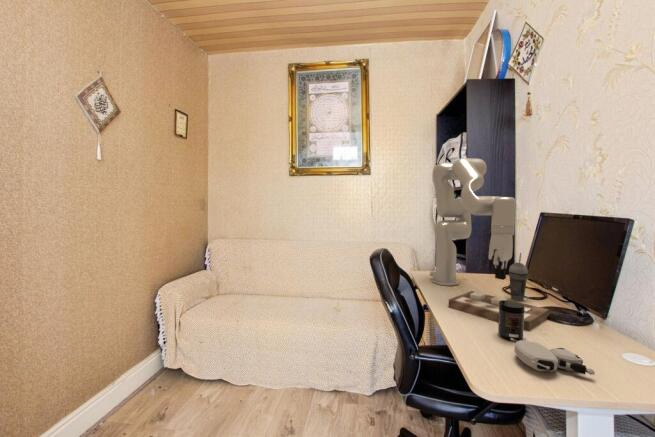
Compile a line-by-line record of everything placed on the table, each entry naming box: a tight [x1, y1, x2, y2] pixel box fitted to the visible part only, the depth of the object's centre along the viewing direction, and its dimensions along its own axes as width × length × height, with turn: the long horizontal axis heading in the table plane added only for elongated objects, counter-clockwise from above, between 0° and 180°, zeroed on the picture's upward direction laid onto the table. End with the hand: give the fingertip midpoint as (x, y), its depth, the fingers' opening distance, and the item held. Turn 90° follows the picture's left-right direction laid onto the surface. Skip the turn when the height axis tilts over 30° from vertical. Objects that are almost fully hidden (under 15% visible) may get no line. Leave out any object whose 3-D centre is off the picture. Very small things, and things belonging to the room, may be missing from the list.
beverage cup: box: [507, 252, 529, 302], centre depth 129 cm, size 7×7×20 cm
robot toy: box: [511, 338, 596, 376], centre depth 78 cm, size 12×4×15 cm
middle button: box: [491, 296, 508, 305], centre depth 116 cm, size 4×4×2 cm
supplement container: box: [497, 299, 525, 342], centre depth 94 cm, size 7×7×10 cm
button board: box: [448, 290, 550, 332], centre depth 115 cm, size 28×18×3 cm, turn 38°
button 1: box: [470, 291, 486, 301], centre depth 122 cm, size 4×4×2 cm
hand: (500, 278), depth 115 cm, fingers closed
